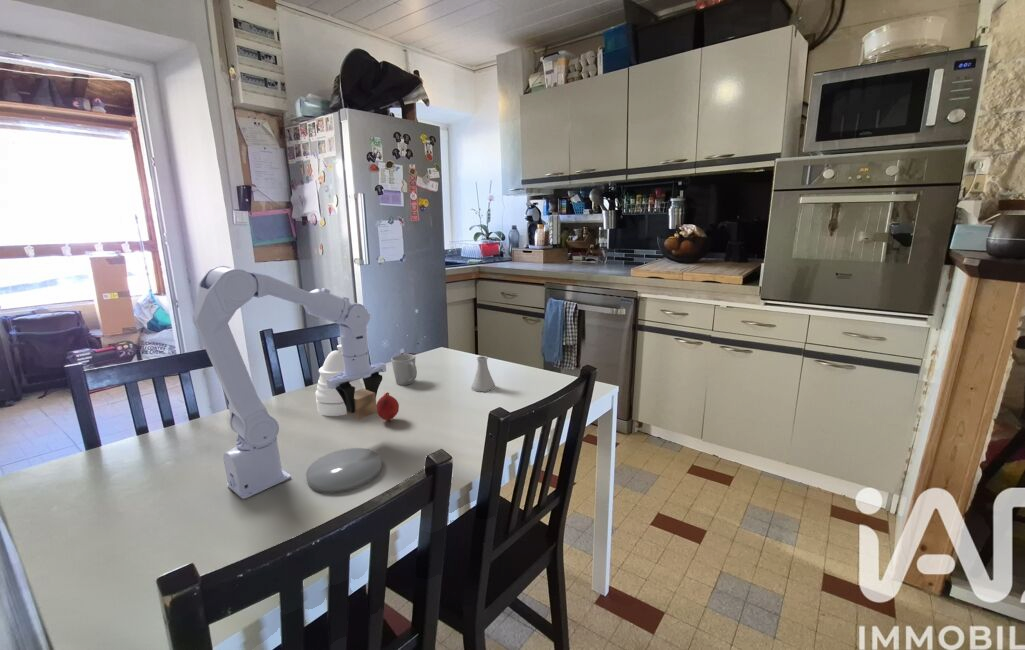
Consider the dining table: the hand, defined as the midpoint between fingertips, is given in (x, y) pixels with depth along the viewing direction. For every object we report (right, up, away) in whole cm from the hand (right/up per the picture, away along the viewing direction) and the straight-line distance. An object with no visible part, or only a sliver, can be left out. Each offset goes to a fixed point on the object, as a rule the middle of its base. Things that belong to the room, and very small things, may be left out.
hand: (361, 407), depth 110 cm
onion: (+3, -6, +12) cm, 14 cm away
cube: (0, -1, 0) cm, 1 cm away
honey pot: (-13, -4, +22) cm, 26 cm away
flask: (+27, 0, +33) cm, 43 cm away
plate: (0, -12, -12) cm, 17 cm away
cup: (+2, +1, +39) cm, 39 cm away
